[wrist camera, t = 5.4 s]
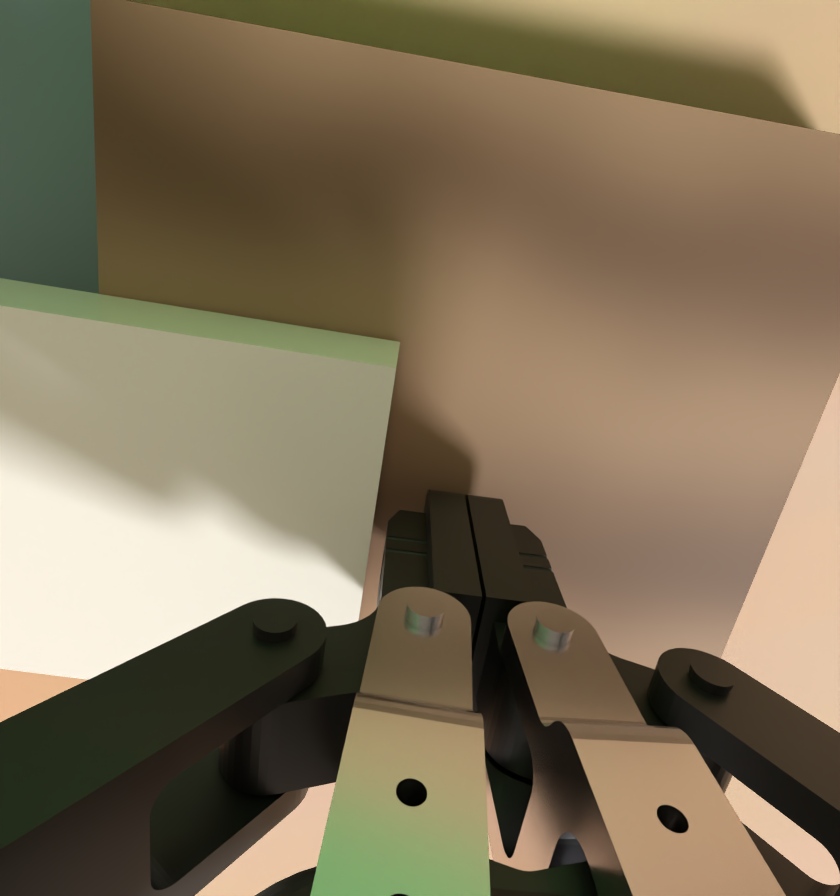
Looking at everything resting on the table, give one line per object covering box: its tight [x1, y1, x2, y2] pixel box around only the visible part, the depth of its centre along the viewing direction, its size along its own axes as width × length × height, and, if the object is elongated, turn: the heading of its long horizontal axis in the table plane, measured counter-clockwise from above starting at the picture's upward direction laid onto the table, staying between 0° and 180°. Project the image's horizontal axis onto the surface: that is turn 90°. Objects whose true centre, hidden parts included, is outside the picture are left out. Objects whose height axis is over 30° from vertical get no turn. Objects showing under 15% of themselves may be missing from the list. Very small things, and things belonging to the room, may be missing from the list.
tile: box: [0, 278, 400, 680], centre depth 11 cm, size 7×10×2 cm
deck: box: [90, 0, 840, 669], centre depth 14 cm, size 16×14×2 cm
